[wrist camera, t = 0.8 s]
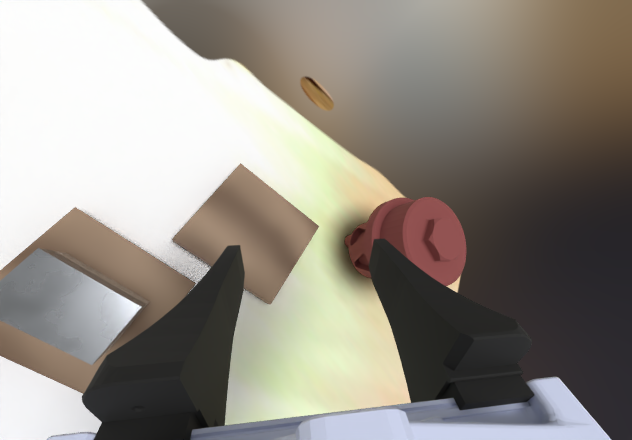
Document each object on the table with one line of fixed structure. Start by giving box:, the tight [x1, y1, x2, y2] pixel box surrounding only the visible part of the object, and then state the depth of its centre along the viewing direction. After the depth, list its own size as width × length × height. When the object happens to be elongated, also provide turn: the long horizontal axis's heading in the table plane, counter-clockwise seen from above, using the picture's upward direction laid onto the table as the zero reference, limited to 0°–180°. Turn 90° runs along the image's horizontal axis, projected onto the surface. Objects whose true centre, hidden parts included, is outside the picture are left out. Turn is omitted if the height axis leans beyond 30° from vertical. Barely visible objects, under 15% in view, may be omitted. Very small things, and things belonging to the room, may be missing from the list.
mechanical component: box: [345, 197, 466, 286], centre depth 28 cm, size 12×10×10 cm
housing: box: [0, 248, 149, 365], centre depth 18 cm, size 4×7×4 cm, turn 57°
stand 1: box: [0, 208, 196, 394], centre depth 20 cm, size 10×11×2 cm
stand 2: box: [172, 164, 319, 304], centre depth 27 cm, size 10×11×2 cm
